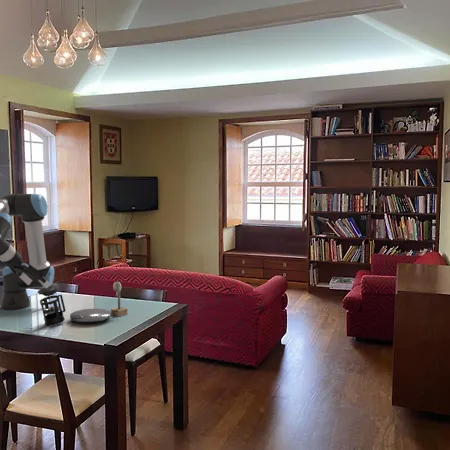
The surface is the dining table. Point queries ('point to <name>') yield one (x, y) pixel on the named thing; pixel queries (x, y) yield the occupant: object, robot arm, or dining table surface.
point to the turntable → (90, 315)
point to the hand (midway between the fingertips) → (39, 284)
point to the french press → (52, 312)
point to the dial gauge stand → (119, 310)
